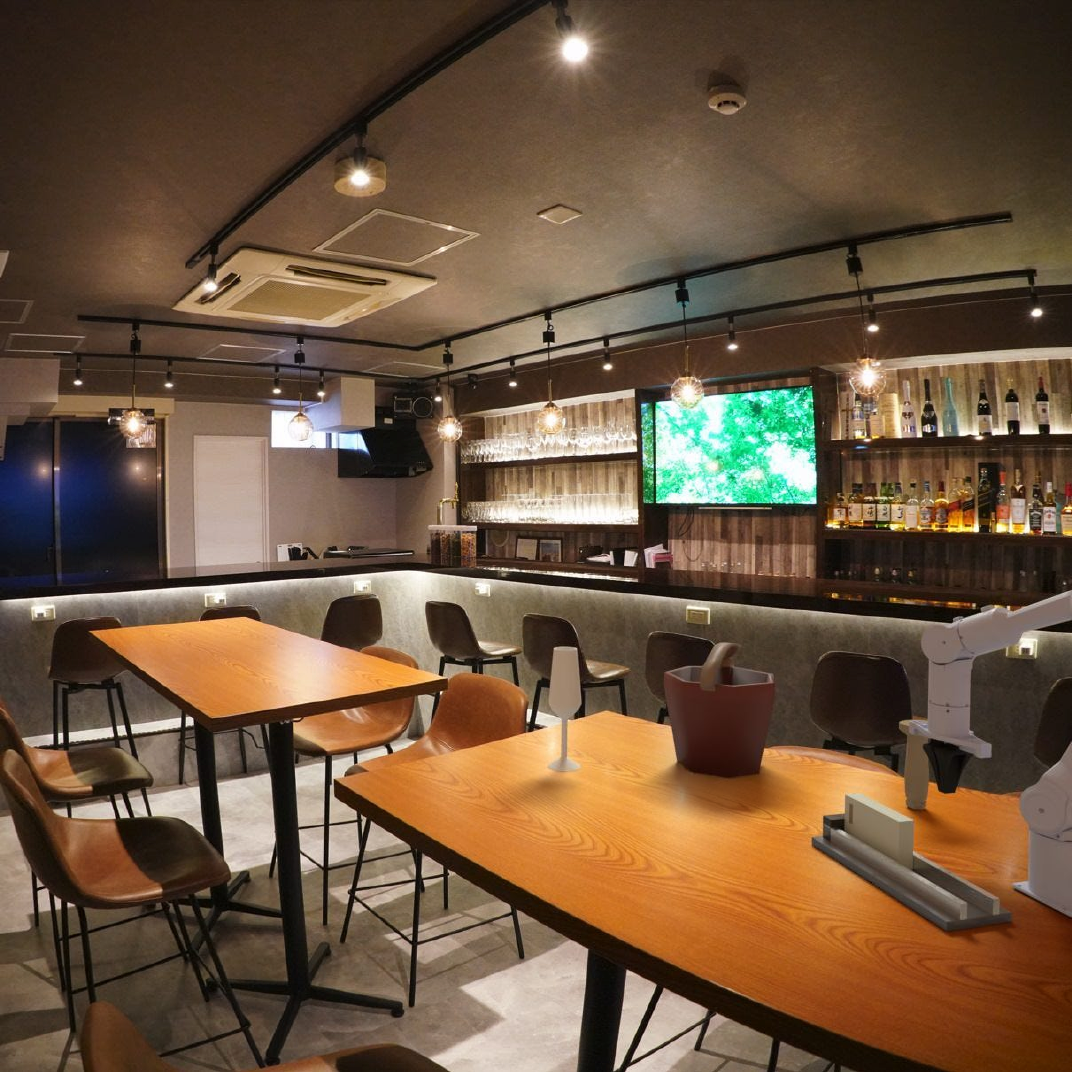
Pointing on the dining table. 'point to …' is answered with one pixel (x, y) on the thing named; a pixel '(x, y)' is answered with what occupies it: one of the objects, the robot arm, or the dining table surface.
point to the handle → (915, 768)
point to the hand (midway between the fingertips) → (946, 792)
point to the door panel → (880, 828)
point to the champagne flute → (564, 698)
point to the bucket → (719, 714)
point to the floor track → (914, 881)
